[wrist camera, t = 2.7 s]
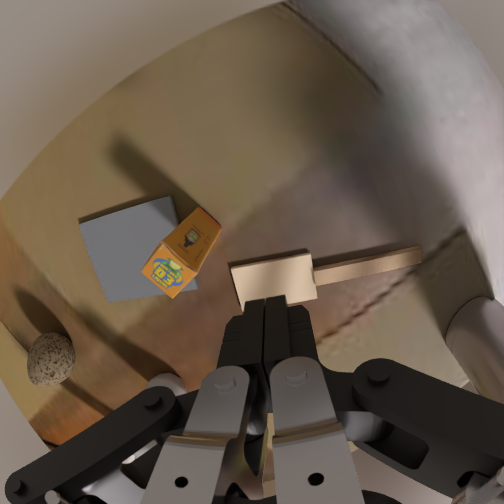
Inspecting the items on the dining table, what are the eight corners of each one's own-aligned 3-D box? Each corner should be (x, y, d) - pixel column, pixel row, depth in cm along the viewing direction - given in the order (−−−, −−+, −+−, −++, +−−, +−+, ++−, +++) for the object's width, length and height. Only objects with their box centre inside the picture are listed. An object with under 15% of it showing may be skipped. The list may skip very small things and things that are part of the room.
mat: (171, 195, 27) (169, 196, 26) (198, 286, 30) (197, 289, 30) (81, 223, 28) (78, 224, 28) (110, 300, 32) (108, 302, 31)
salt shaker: (144, 369, 35) (109, 440, 23) (179, 365, 34) (150, 445, 22) (163, 396, 37) (137, 465, 25) (197, 394, 36) (176, 470, 24)
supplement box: (177, 229, 28) (135, 270, 19) (199, 205, 27) (162, 236, 18) (202, 252, 29) (171, 302, 19) (224, 228, 28) (201, 270, 18)
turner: (417, 230, 26) (421, 233, 25) (417, 273, 28) (421, 276, 27) (231, 266, 29) (230, 270, 28) (243, 308, 31) (242, 313, 30)
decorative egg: (89, 344, 35) (55, 388, 26) (78, 366, 37) (49, 407, 28) (53, 313, 34) (14, 352, 24) (46, 339, 36) (13, 375, 27)
